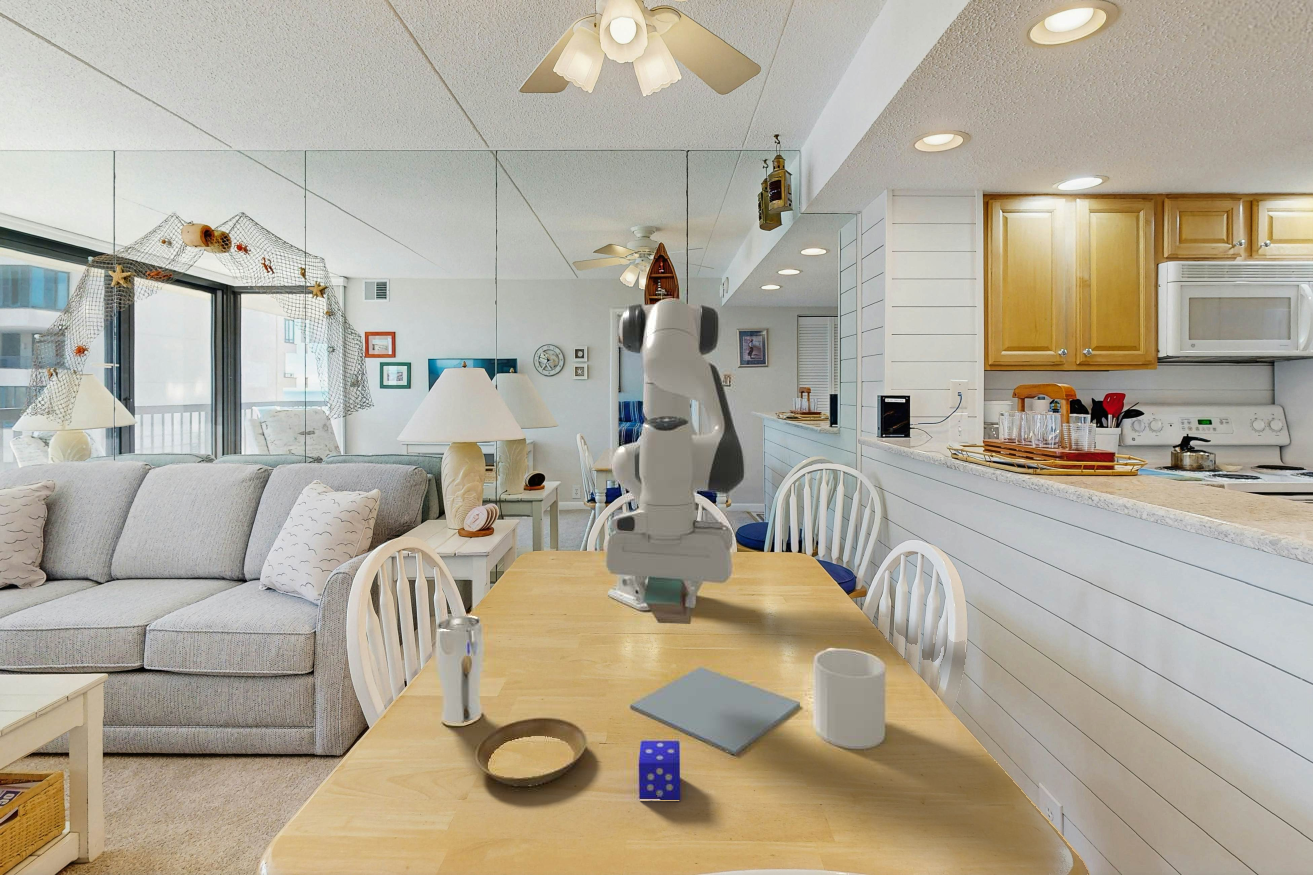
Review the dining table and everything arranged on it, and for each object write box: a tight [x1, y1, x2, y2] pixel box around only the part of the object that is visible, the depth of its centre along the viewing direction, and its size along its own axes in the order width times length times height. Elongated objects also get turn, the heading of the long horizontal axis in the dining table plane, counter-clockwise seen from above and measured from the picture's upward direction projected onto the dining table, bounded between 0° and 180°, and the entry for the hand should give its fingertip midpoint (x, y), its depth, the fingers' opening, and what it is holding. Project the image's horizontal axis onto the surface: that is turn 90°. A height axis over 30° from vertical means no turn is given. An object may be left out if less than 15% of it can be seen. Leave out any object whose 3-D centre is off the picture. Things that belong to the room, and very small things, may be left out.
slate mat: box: [629, 666, 801, 756], centre depth 98 cm, size 20×18×1 cm
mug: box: [813, 647, 887, 750], centre depth 91 cm, size 13×10×10 cm
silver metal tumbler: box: [435, 615, 484, 723], centre depth 95 cm, size 7×7×15 cm
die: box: [638, 740, 681, 801], centre depth 77 cm, size 5×5×5 cm
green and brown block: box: [644, 577, 694, 625], centre depth 99 cm, size 4×6×8 cm
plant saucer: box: [474, 716, 588, 787], centre depth 83 cm, size 15×15×3 cm
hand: (668, 604), depth 99 cm, fingers closed on green and brown block, 6 cm apart
